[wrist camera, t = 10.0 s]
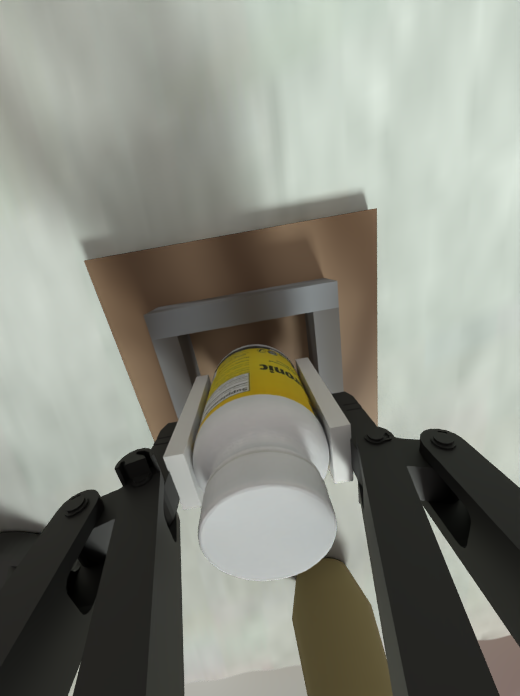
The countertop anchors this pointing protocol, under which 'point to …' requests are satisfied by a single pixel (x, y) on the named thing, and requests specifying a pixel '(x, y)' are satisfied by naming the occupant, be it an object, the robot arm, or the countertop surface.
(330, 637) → the squeeze bottle
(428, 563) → the robot arm
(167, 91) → the countertop surface
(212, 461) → the supplement bottle
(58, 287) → the countertop surface
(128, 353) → the socket holder
